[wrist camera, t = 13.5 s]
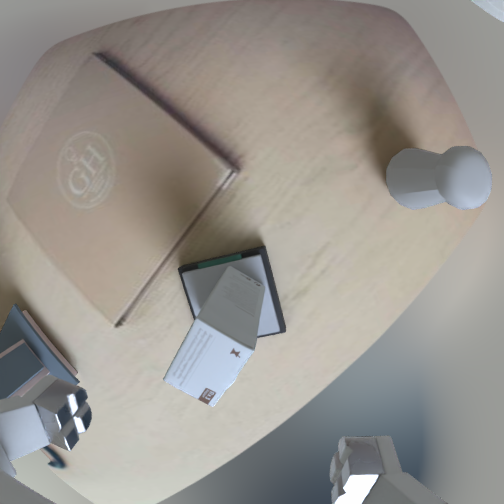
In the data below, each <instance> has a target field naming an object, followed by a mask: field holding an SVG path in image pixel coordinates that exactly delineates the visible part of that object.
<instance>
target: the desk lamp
mask: <svg viewBox="0 0 504 504" xmlns="http://www.w3.org/2000/svg"><path fill="white" fill-rule="evenodd" d="M77 373H78V372H77V371H76V370H75V369H74V368H73V367H72V366H71V365H70V364H69V362H68V361H67V360H66V359H65V358H64V357H63V356H62V354H61V353H60V352H59V351H58V350H57V349H56V347H55V346H54V345H53V344H52V343H51V341H50V340H49V339H48V338H47V337H46V335H45V334H44V333H43V332H42V330H41V329H40V328H39V326H38V325H37V324H36V323H35V321H34V320H33V319H32V317H31V316H30V315H29V313H28V312H27V311H26V310H25V311H23V312H22V311H21V310H20V309H19V307H18V306H17V304H14V305H13V307H12V309H11V311H10V313H9V315H8V317H7V319H6V322H5V324H4V326H3V328H2V330H1V333H0V400H1V399H5V398H9V397H14V396H18V395H19V396H21V397H22V396H23V395H24V394H25V393H26V392H27V391H28V390H30V389H31V388H32V387H33V386H34V385H35V384H36V383H38V382H39V381H40V380H41V379H42V378H43V377H44V376H46V375H53V376H55V377H57V378H59V379H62V380H64V381H67V382H69V383H72V384H74V385H77V384H78V383H79V382H80V381H79V380H78V379H77V378H76V377H75V376H76V374H77Z"/></svg>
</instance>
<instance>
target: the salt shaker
mask: <svg viewBox="0 0 504 504" xmlns="http://www.w3.org/2000/svg"><path fill="white" fill-rule="evenodd" d="M386 183H387V186H388V189H389V192H390V194H391V196H392V197H393V198H394V199H395V200H396V201H397V202H398V203H399V204H400V205H402V206H405V207H407V208H410V209H412V210H415V209H422V208H426V207H430V206H433V205H436V204H439V203H443V202H447V203H448V204H450V205H452V206H454V207H456V208H458V209H462V210H465V209H472V208H478V207H479V206H481V205H482V204H483V203H484V202H485V201H486V200H487V198H488V196H489V194H490V191H491V187H492V174H491V170H490V167H489V164H488V162H487V160H486V159H485V157H484V156H483V155H482V153H481V152H479V151H478V150H476V149H474V148H472V147H469V146H454V147H451V148H450V149H448V150H447V151H446V152H444V153H443V154H438V153H434V152H430V151H426V150H422V149H418V148H410V149H403V150H402V151H400V152H399V153H397V154H396V155H395V156H393V157H392V159H391V161H390V163H389V165H388V167H387V172H386Z"/></svg>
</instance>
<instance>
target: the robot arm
mask: <svg viewBox="0 0 504 504" xmlns="http://www.w3.org/2000/svg"><path fill="white" fill-rule="evenodd" d="M87 398H88V396H87V393H86V390H85V389H83V388H81V387H79V386H76V385H74V384H72V383H69V382H67V381H64V380H62V379H59V378H57V377H55V376H53V375H46V376H44V377H43V378H42V379H41V380H40V381H39V382H38V383H36V384H35V385H34V386H33V387H32V388H31V389H30V390H28V391H27V392H26V393H25V394H24V395H23V396H22V397H21V396H19V395H18V396H14V397H9V398H5V399H1V400H0V504H56V503H54V502H53V501H51V500H49V499H47V498H45V497H43V496H42V495H40V494H39V493H37V492H35V491H34V490H32V489H30V488H29V487H27V486H25V485H24V484H22V483H21V482H19V481H18V480H16V479H15V478H14V477H15V475H16V470H15V468H14V467H13V465H12V463H11V462H10V461H12V460H15V459H17V458H19V457H22V456H24V455H26V454H29V453H31V452H33V451H35V450H38V449H40V448H42V447H44V446H47V445H49V444H50V443H52V444H54V445H57V446H59V447H61V448H63V449H65V450H68V451H71V449H72V448H73V447H74V446H75V444H76V443H77V442H78V440H79V434H80V433H83V432H85V431H86V430H87V429H88V427H89V425H90V422H91V419H92V412H91V408H90V406H89V405H88V404H87V403H86V400H87ZM338 449H339V451H338V452H336V453H335V454H334V456H333V458H332V461H331V467H330V481H331V482H332V483H333V484H334V487H333V489H332V491H331V496H332V504H448V503H447V502H445V501H444V500H442V499H441V498H440V497H438V496H437V495H436V494H434V493H433V492H431V491H430V490H429V489H428V488H426V487H425V486H424V485H422V484H421V483H419V482H418V481H417V480H416V479H414V478H413V477H412V476H411V475H409V474H408V473H402V470H401V467H400V463H399V460H398V457H397V454H396V451H395V448H394V445H393V442H392V439H391V437H390V436H374V437H373V436H365V437H363V436H362V437H342V438H341V439H340V441H339V443H338Z"/></svg>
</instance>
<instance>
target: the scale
mask: <svg viewBox="0 0 504 504" xmlns="http://www.w3.org/2000/svg"><path fill="white" fill-rule="evenodd" d="M228 266H232V267H233V268H235V269H237V270H239V271H240V272H242V273H244V274H245V275H247V276H249V277H250V278H252V279H254V280H255V281H257V282H259V283H261V284H262V285H264V286H265V293H264V299H263V305H262V311H261V316H260V322H259V329H258V335H257V338H259V337H264V336H269V335H275V334H279V333H284V332H286V326H285V322H284V318H283V314H282V310H281V306H280V302H279V298H278V294H277V290H276V286H275V282H274V278H273V274H272V270H271V266H270V262H269V258H268V255H267V251H266V247H265V246H261V247H257V248H253V249H249V250H245V251H241V252H236V253H232V254H228V255H224V256H220V257H216V258H212V259H207V260H203V261H199V262H195V263H191V264H187V265H183V266H181V267H179V268H178V271H179V274H180V278H181V281H182V284H183V287H184V290H185V293H186V296H187V300H188V303H189V306H190V309H191V312H192V315H193V318H194V320H195V318H196V317H197V316H198V314H199V312H200V310H201V309H202V307H203V305H204V303H205V302H206V300H207V298H208V297H209V295H210V293H211V292H212V290H213V288H214V287H215V285H216V284H217V282H218V280H219V279H220V277H221V276H222V274H223V273H224V271H225V270H226V268H227V267H228Z"/></svg>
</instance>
